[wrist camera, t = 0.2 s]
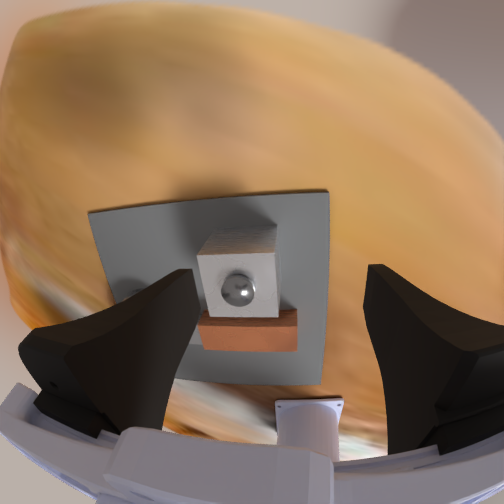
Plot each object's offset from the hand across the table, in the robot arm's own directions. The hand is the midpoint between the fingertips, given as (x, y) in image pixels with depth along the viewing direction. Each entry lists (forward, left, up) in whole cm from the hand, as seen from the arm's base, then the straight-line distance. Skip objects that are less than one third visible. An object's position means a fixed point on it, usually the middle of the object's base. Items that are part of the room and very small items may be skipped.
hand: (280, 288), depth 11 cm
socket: (-3, +3, -9) cm, 10 cm away
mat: (-8, +7, -10) cm, 15 cm away
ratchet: (-9, +8, -9) cm, 16 cm away
